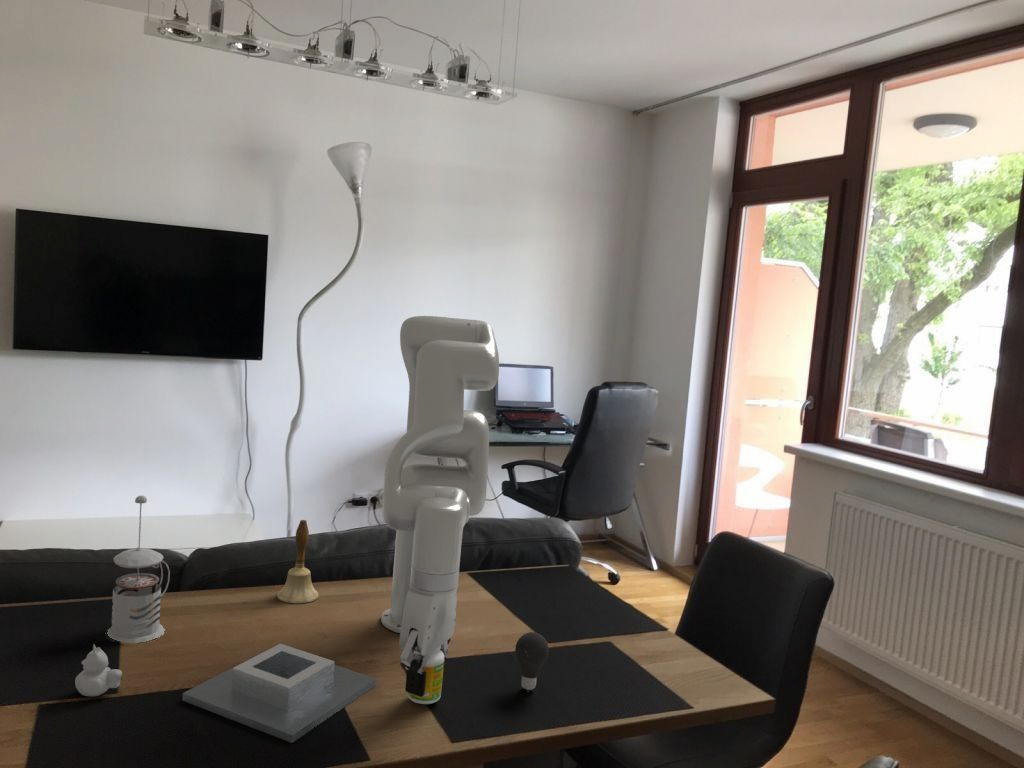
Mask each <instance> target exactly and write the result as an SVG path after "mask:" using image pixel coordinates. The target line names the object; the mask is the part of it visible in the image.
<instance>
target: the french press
mask: <svg viewBox="0 0 1024 768" xmlns="http://www.w3.org/2000/svg"><path fill="white" fill-rule="evenodd" d="M134 502H135V503H136V504H139V524H138V525H139V527H138V529H139V531H138V547H136V548H130V549H126V550H122V551H121V552H120V553H118V554H117V555H115V556H114V557H113V562H114V564H115V565H116V566H118V567H121V568H126V569H137V573H134V572H133V573H129V574H125V575H122V576H119V577H117V578H116V580H115V581H114V582H115V584H116V585H115V586H114V587H113V589H112V601H111V602H112V606H111V607H112V608H111V610H112V612H111V627H110V628H108V629H107V631H108V632H107V631H106V632H107V634H108V636H109V637H110V638H112V639H114V640H117V641H121V642H126V643H127V642H129V643H131V642H132V643H139V642H146V641H149V640H152V639H155V638H158V637H159V638H160V636H161V635H162V636H164V634H165V632H164V631H166V628H163V627H164V625H162V624H161V623H160V621H161V618H160V617H161V599H162V597H163V596H164V594H165V593H166V591H167V590H168V587H169V584H170V577H171V576H170V575H171V571H170V568H169V565H168V564H167V562H166V561H164V560H163V559H164V558H165V557H164V556H163V554H162V553H160V552H158V551H156V550H155V549H154V550H153V549H151V548H146V547H145V548H144V547H140V546H141V531H142V530H141V528H142V527H141V526H142V504H146V503H147V502H148V499H147V497H146V496H145V495H138V496H137V497H135V501H134ZM162 563H163V564H164V565H165V567H166V568H167V573H168V574H167V582H166V586H165V589H164V590H163V592H162V586H161V585H162V582H163V577H164V572H163V571H164V569H163V566H162ZM151 567H152V569H153V568H154V569H158V568H159V567H160V572H161V573H160V574H161V575H160V577H159V576H157V575H155V574H153V573H144V572H141V573H140V569H143V568H144V569H145V568H151ZM154 586H155V587H154ZM153 587H154V592H152V591H153ZM122 590H125V591H123V592H121V591H122ZM134 590H137V591H134ZM119 592H121V593H119ZM153 601H154V603H153ZM131 609H133V610H136V612H135V611H131ZM152 616H153V617H152ZM151 617H152V618H151ZM162 636H161V637H162ZM159 638H158V639H159Z"/></svg>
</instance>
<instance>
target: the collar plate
mask: <svg viewBox="0 0 1024 768" xmlns="http://www.w3.org/2000/svg"><path fill="white" fill-rule="evenodd" d="M374 686H375V687H376V686H377V678H376V677H372V676H369V675H366V674H363V673H360V672H358V671H354V670H351V669H348V668H345V667H343V666H339V665H336V664H335V661H334V660H331V659H329V658H325V657H323V656H319V655H317V654H313V653H310V652H308V651H304V650H301V649H298V648H295V647H293V646H289V645H286V644H283V643H279V644H277V645H273V647H270V648H268V649H266V650H264V651H263V652H261V653H259V654H257V655H255V656H252V657H251V658H248V659H247V660H245V661H243V662H241V663H239V664H236V665H235V666H233V667H231V668H229V669H227V670H225V671H223V672H222V673H220V674H218V675H216V676H214V677H213V676H212V677H211V678H209V679H207V680H206V681H204V682H203V683H200V684H198V685H196V686H194V687H192V688H189V689H188V690H186V691H184V692H183V693H182V702H184V703H187V704H190V705H193V706H195V707H198V708H201V709H202V710H203V709H204V710H205V711H208V712H210V713H213V714H216V715H219V716H222V717H224V718H226V719H229V720H231V721H233V722H237V723H239V724H242V725H244V726H247V727H249V728H252V729H255V730H258V731H259V732H262V733H265V734H268V735H270V736H272V737H275V738H278V739H281V740H283V741H286V742H288V743H291V744H292V743H294V742H296V741H297V740H299V739H300V738H301V737H303V736H304V735H306V734H307V733H309V732H310V731H312V730H313V729H315V728H316V727H318V726H319V725H321V724H322V723H323V722H325V721H326V720H327V718H328V719H330V718H331V717H332V716H334V715H335V714H337V713H338V712H340V711H341V710H342V709H344V708H345V707H347V706H348V705H350V704H351V703H352V701H353V702H354V701H356V700H357V699H359V698H361V696H363V695H364V694H366V693H367V692H369V691H370V690H372V689H373V688H375V687H374ZM371 688H372V689H371ZM368 690H369V691H368ZM365 692H366V693H365ZM355 699H356V700H355ZM350 702H351V703H350ZM349 703H350V704H349ZM336 712H337V713H336ZM333 714H334V715H333ZM317 725H318V726H317ZM314 727H315V728H314Z"/></svg>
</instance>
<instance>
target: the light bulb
mask: <svg viewBox="0 0 1024 768" xmlns="http://www.w3.org/2000/svg"><path fill="white" fill-rule="evenodd" d="M549 648H550V647H549V644H548V641H547V640H546V639H545V637H544V636H543V635H542V634H540V633H539V632H534V631H533V632H531V631H530V632H526V633H524V634H522V635H521V636H520V637H519V638H518V640H517V642H516V644H515V652H514V653H515V657H516V660H517V662H518V664H519V666H520V673H521V682H520V684H521V687H522V688H523V689H524V690H525V689H526V690H531V691H532V690H534V689H535V688H536V687H537V686H536V685H537V678H538V676H539V673H540V670H541V669H542V667H543V666H544V664H545V662H546V661H547V659H548V656H549V652H550V651H549ZM526 690H525V691H526Z"/></svg>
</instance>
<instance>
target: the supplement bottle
mask: <svg viewBox="0 0 1024 768" xmlns="http://www.w3.org/2000/svg"><path fill="white" fill-rule="evenodd" d="M415 649H417V650H420V651H421V649H420V648H419V647H418V646H416V648H415ZM440 649H441V646H439V647H438V648H437V649H435V650H434V651H432V652H431V653H429V654H428V656H427V660H426V664H425V668H424V671H425V672H426V682H425V693H424V695H423V696H422V697H420V696H417V695H414V694H411V693H408V692H406V693H407V697H408V698H409V700H410V701H412V702H413V703H415V704H420V705H430V704H434V703H436V702H438V701H439V700H440V698H441V696H442V689H443V688H442V687H443V680H444V679H443V668H444V654H443V652H442V651H441V650H440ZM420 658H421V656H418V655H415V656H414V659H415V660H417V661H418V663H419V662H420ZM442 679H443V680H442Z"/></svg>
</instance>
